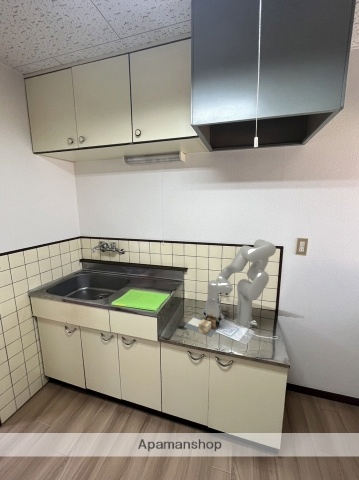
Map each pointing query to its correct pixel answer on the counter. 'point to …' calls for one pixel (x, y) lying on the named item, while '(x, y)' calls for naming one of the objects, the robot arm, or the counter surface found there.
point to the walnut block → (212, 322)
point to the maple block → (205, 327)
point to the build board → (194, 326)
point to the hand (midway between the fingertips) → (212, 323)
